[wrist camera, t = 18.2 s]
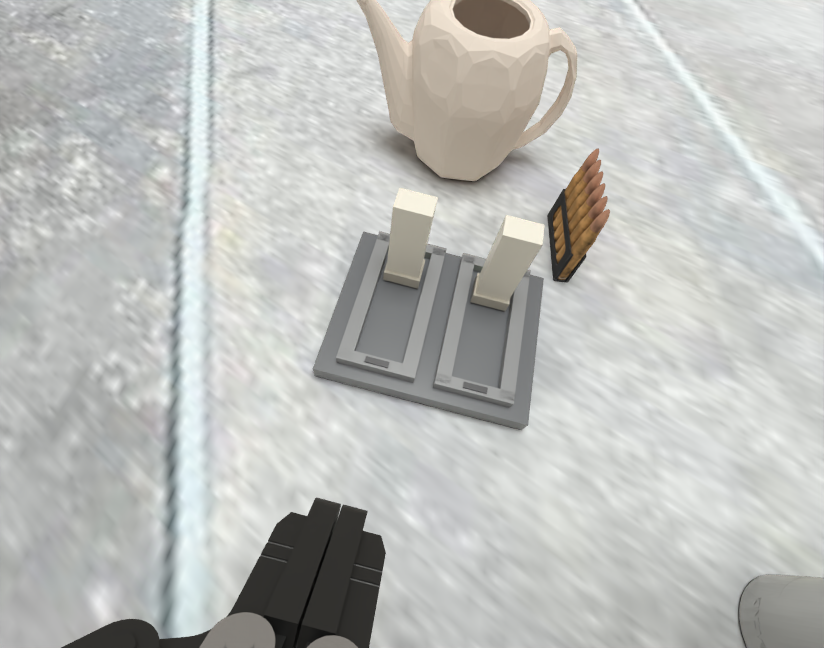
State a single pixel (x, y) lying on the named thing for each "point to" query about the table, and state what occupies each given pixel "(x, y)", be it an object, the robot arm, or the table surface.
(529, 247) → the tab
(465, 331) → the switch board
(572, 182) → the ammunition clip
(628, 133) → the table surface
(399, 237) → the tab
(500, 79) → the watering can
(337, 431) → the table surface
